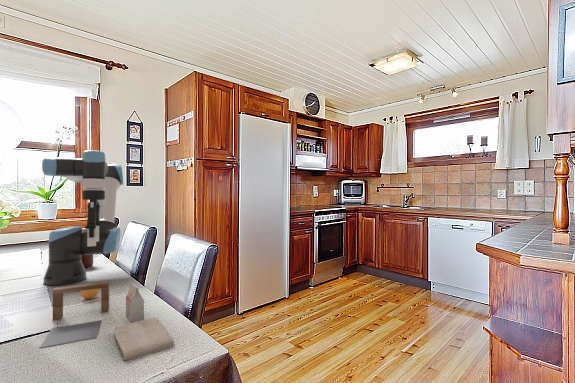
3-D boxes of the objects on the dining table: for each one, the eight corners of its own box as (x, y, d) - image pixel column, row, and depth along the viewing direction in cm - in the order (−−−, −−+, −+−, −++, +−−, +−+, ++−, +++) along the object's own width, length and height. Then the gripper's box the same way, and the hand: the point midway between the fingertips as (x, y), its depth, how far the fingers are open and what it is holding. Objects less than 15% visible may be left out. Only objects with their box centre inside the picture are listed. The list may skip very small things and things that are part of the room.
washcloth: (155, 323, 90) (155, 313, 90) (175, 348, 76) (175, 335, 76) (110, 335, 82) (110, 324, 82) (123, 365, 68) (123, 351, 68)
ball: (81, 297, 110) (82, 282, 110) (99, 295, 113) (99, 280, 113) (79, 302, 105) (79, 286, 105) (97, 299, 108) (97, 284, 108)
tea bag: (138, 313, 96) (138, 281, 96) (143, 319, 91) (144, 287, 91) (125, 315, 94) (126, 284, 94) (130, 323, 89) (130, 289, 89)
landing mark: (52, 328, 85) (52, 328, 85) (101, 320, 90) (101, 320, 90) (39, 348, 74) (39, 347, 74) (96, 337, 80) (96, 337, 80)
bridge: (55, 317, 93) (55, 287, 93) (109, 309, 99) (109, 281, 99) (52, 320, 90) (52, 290, 90) (108, 312, 97) (108, 283, 97)
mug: (85, 265, 160) (85, 246, 160) (99, 266, 158) (99, 246, 158) (64, 270, 148) (64, 250, 148) (78, 271, 146) (79, 250, 146)
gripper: (86, 190, 127) (85, 240, 127) (77, 188, 105) (77, 249, 105) (106, 190, 131) (106, 239, 131) (102, 189, 109) (102, 247, 109)
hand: (93, 243), depth 118 cm, fingers open, 13 cm apart
